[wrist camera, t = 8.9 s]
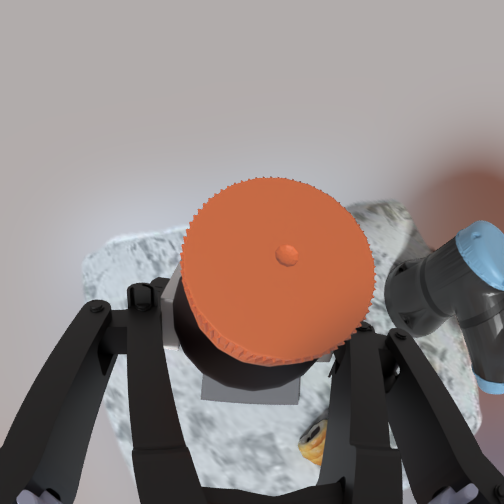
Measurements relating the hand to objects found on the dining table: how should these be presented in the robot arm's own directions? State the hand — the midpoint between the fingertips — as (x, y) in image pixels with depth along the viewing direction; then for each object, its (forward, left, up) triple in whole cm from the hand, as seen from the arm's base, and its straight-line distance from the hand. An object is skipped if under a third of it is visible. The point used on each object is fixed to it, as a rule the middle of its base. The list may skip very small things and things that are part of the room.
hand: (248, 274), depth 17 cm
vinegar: (0, +4, -10) cm, 10 cm away
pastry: (-16, +18, -25) cm, 34 cm away
